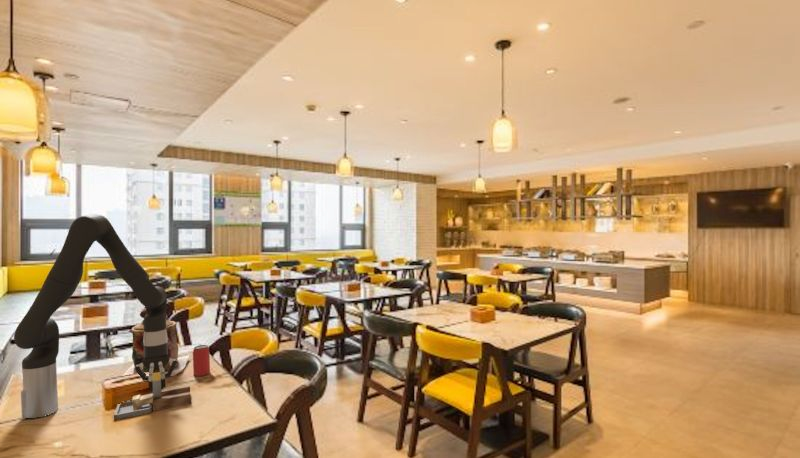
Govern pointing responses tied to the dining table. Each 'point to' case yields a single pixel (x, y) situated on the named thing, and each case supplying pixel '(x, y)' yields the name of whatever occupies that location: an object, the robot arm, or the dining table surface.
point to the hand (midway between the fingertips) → (157, 389)
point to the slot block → (173, 398)
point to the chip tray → (131, 410)
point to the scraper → (156, 384)
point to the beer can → (201, 360)
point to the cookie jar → (139, 348)
